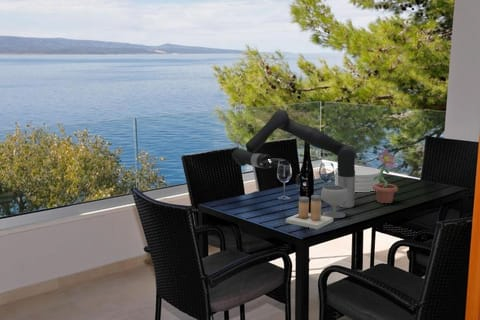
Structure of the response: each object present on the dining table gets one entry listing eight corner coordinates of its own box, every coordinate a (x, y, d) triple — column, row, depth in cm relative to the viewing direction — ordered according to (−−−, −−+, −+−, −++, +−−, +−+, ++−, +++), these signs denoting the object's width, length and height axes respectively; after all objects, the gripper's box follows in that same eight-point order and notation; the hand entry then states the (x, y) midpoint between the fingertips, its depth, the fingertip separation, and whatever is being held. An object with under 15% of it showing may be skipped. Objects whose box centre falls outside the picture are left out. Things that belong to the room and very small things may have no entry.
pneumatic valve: (295, 192, 329) (295, 173, 327) (309, 189, 336) (310, 170, 334) (300, 193, 325) (301, 174, 323) (315, 191, 331) (315, 172, 329)
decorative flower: (383, 206, 295) (385, 153, 290) (365, 201, 307) (367, 150, 301) (402, 203, 302) (405, 151, 297) (384, 198, 314) (386, 147, 309)
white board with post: (302, 215, 279) (302, 189, 276) (333, 221, 268) (334, 194, 266) (285, 222, 267) (286, 195, 264) (317, 229, 256) (317, 201, 253)
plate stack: (346, 194, 324) (346, 176, 322) (327, 184, 351) (328, 167, 348) (387, 191, 330) (388, 173, 328) (366, 182, 357) (367, 165, 355)
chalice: (344, 211, 286) (345, 184, 283) (350, 219, 272) (351, 190, 269) (318, 212, 285) (318, 184, 283) (323, 219, 272) (323, 190, 269)
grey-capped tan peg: (301, 218, 273) (302, 196, 271) (310, 220, 270) (310, 197, 268) (296, 221, 269) (297, 198, 267) (305, 222, 266) (305, 199, 264)
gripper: (251, 155, 282) (273, 159, 270) (270, 152, 291) (292, 155, 279) (251, 169, 283) (273, 173, 271) (270, 165, 292) (292, 169, 281)
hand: (283, 164), depth 275 cm, fingers open, 8 cm apart
